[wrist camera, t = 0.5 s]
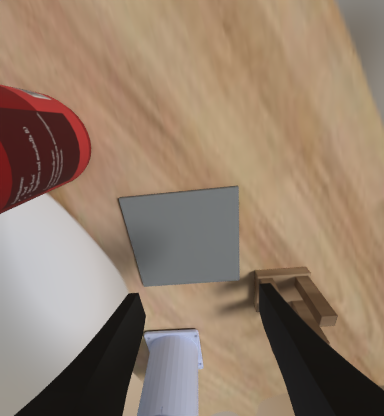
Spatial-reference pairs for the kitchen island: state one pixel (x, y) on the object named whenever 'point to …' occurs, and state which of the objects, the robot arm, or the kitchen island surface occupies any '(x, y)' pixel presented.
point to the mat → (185, 235)
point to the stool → (298, 296)
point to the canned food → (37, 146)
